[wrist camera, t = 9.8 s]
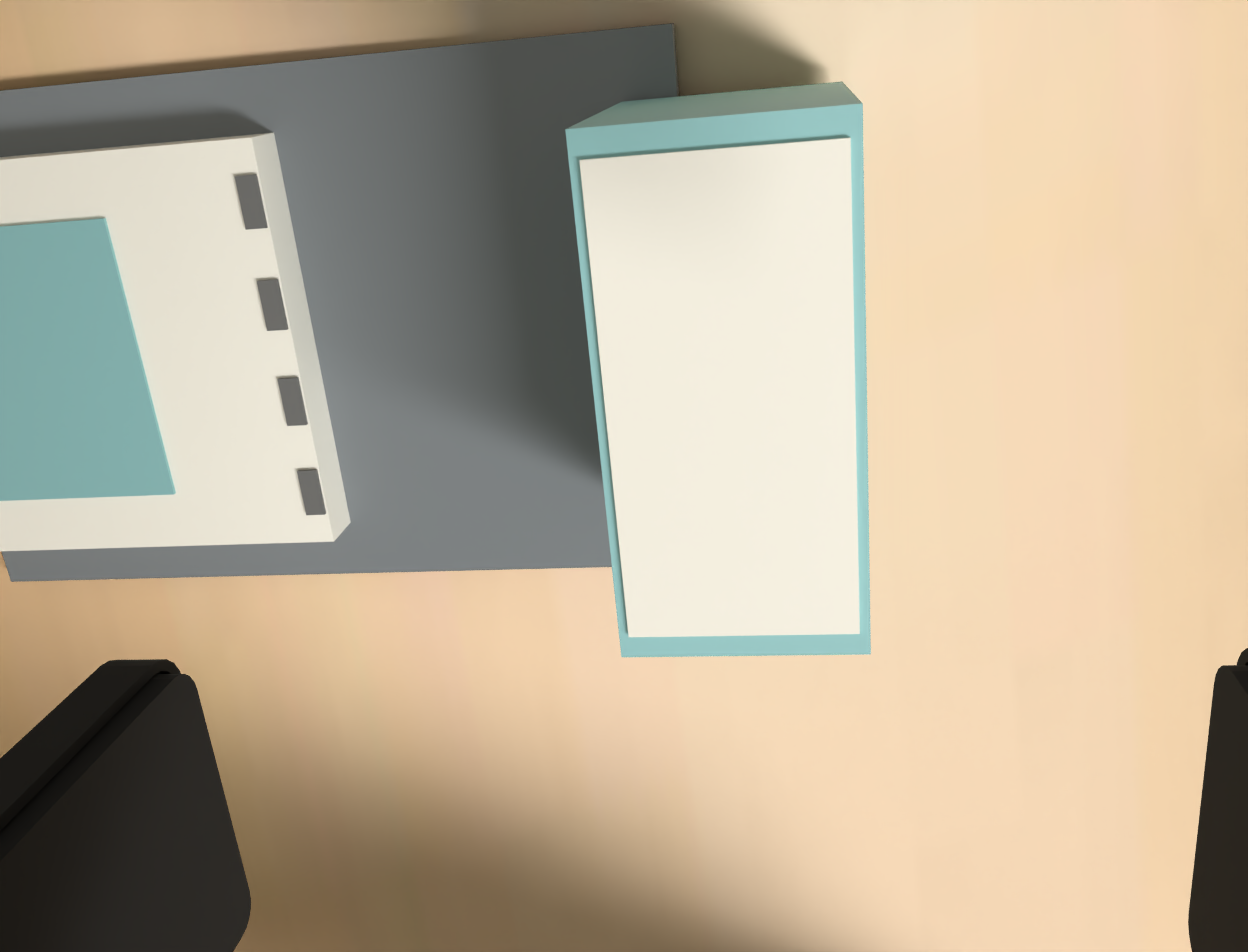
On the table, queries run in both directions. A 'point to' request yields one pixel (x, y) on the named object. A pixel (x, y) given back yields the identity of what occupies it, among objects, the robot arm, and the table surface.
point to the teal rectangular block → (730, 367)
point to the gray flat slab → (305, 314)
